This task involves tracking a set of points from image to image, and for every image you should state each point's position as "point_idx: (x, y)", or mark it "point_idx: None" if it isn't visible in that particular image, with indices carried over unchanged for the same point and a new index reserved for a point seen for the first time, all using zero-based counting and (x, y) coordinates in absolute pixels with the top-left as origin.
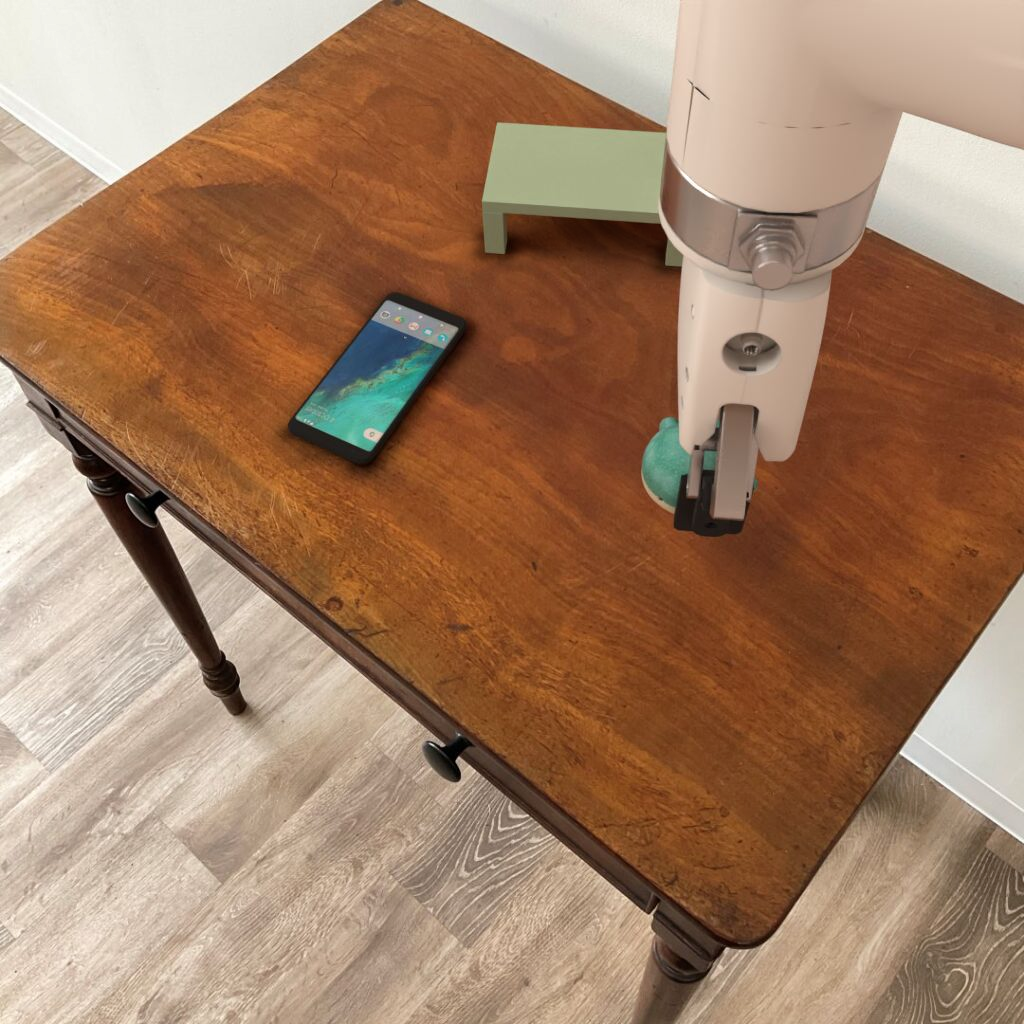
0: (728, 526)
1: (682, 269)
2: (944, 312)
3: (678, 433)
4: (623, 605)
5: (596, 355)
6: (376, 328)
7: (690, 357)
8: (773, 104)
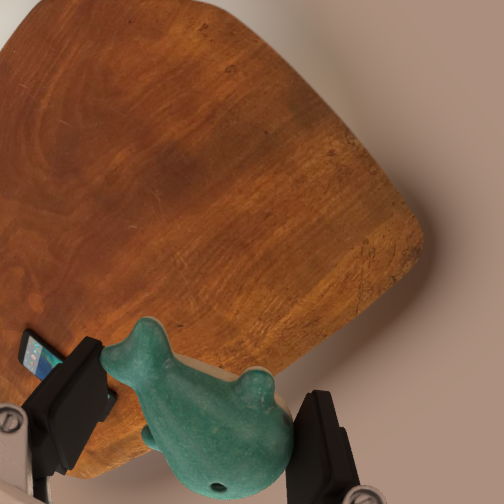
0: (348, 441)
1: None
2: (34, 29)
3: (200, 493)
4: (213, 276)
5: (34, 257)
6: (38, 373)
7: None
8: None
